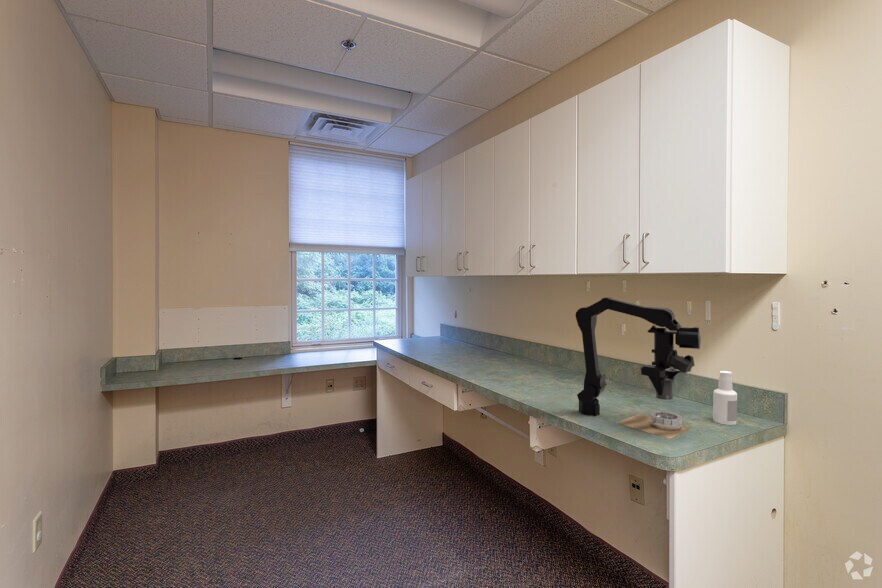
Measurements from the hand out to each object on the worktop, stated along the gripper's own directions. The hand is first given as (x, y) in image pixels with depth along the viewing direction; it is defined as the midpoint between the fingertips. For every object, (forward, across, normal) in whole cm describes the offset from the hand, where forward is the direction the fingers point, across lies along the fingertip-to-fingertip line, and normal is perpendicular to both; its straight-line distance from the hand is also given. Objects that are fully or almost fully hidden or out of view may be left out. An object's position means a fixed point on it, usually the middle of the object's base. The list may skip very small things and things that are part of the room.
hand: (664, 393), depth 143 cm
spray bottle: (+12, +21, -10) cm, 26 cm away
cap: (+1, 0, 0) cm, 1 cm away
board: (+12, -2, +3) cm, 12 cm away
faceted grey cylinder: (+11, +1, 0) cm, 11 cm away
